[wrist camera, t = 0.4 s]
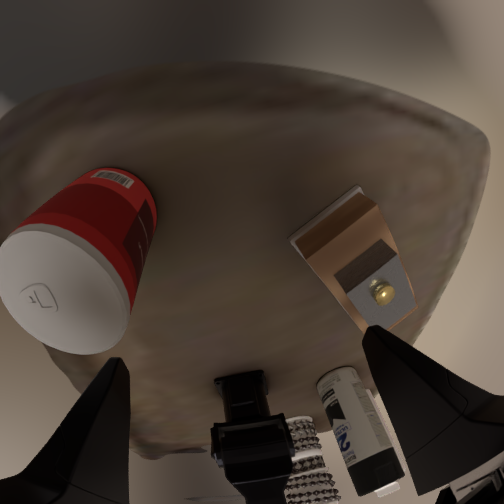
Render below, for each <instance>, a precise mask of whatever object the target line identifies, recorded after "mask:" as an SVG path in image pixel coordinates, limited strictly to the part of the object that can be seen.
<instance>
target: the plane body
mask: <svg viewBox="0 0 504 504" xmlns="http://www.w3.org/2000/svg"><path fill="white" fill-rule="evenodd" d="M379 239H382V240H383V241H384V242H385V243H387V244H388V245H389V246H390V247H391V248H392V249H393V250H394V251H395V252H396V253H397V254H398V256H399V259H400V261H401V264H402V266H403V269H404V271H405V274H406V277H407V279H408V282H409V285H410V288H411V291H412V293H413V296H414V299H415V302H416V306H415V307H414V308H413V309H412V310H410V311H409V312H408V313H407V314H405V315H404V316H403V317H402V318H400V319H399V320H398V321H396V322H395V323H394V324H393V325H391V326H390V327H389V328H387V329H386V330H387V331H389V330H390V329H391V328H393V327H394V326H395V325H397V324H398V323H399V322H401V321H402V320H403V319H404V318H406V317H407V316H408V315H409V314H411V313H412V312H413V311H414V310H416V309H417V308H418V304H417V301H416V298H415V295H414V292H413V289H412V286H411V283H410V281H409V278H408V275H407V272H406V270H405V267H404V264H403V262H402V259H401V257H400V254H399V252H398V249H397V247H396V245H395V242H394V240H393V237H392V235H391V233H390V231H389V228H388V226H387V224H386V222H385V219H384V217H383V215H382V213H381V211H380V209H379V207H378V205H377V204H376V203H375V202H373V201H372V200H370V199H369V198H368V197H366V196H365V195H364V193H363V191H362V189H361V188H360V186H358V185H356V186H354V187H353V188H352V189H350V190H349V191H348V192H347V193H345V194H344V195H343V196H341V197H340V198H339V199H338V200H336V201H335V202H334V203H332V204H331V205H330V206H329V207H327V208H326V209H325V210H323V211H322V212H321V213H320V214H318V215H317V216H316V217H314V218H313V219H312V220H310V221H309V222H308V223H307V224H305V225H304V226H303V227H301V228H300V229H299V230H297V231H296V232H295V233H294V234H292V235H291V236H290V237H288V240H289V242H290V243H291V244H292V245H293V246H294V248H295V249H296V250H297V251H298V252H299V254H300V255H301V256H302V257H303V258H304V260H305V261H306V262H307V263H308V264H309V266H310V267H311V268H312V269H313V271H314V272H315V273H316V274H317V275H318V277H319V278H320V279H321V280H322V282H323V283H324V284H325V285H326V287H327V288H328V289H329V290H330V292H331V293H332V294H333V295H334V297H335V298H336V299H337V300H338V302H339V303H340V304H341V305H342V307H343V308H344V309H345V310H346V312H347V313H348V314H349V315H350V317H351V318H352V319H353V321H354V322H355V323H356V324H357V326H358V327H359V328H360V329H361V331H362V332H363V333H364V334H365V332H366V329H367V328H368V327H369V326H368V324H367V323H366V321H365V320H364V318H363V317H362V316H361V314H360V313H359V311H358V310H357V309H356V307H355V306H354V304H353V303H352V302H351V300H350V299H349V297H348V296H347V295H346V293H345V292H344V290H343V289H342V287H341V286H340V284H339V283H338V281H337V280H336V278H335V277H334V274H336V273H337V272H338V271H340V270H341V269H342V268H344V267H345V266H346V265H348V264H349V263H350V262H351V261H353V260H354V259H355V258H357V257H358V256H359V255H360V254H362V253H363V252H364V251H366V250H367V249H368V248H369V247H371V246H372V245H373V244H374V243H376V242H377V241H378V240H379Z"/></svg>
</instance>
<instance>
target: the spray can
mask: <svg viewBox="0 0 504 504" xmlns="http://www.w3.org/2000/svg"><path fill="white" fill-rule="evenodd" d="M317 390H318V393H319V395H320V398H321V401H322V403H323V405H324V408H325V411H326V414H327V416H328V419H329V421H330V424H331V427H332V429H333V432H334V435H335V437H336V440H337V442H338V445H339V448H340V450H341V453H342V456H343V459H344V461H345V464H346V466H347V470H348V472H349V474H350V477H351V479H352V482H353V484H354V486H355V489H356V492H357V494H358V496H363V495H366V494H368V493H370V492H373V491H375V490H378V489H380V488H382V487H384V486H386V485H388V484H390V483H393V482H395V481H396V480H398V479H400V478H402V477H404V476H405V474H404V471H403V469H402V466H401V464H400V462H399V459H398V457H397V455H396V452H395V450H394V447H393V446H392V443H391V441H390V439H389V437H388V435H387V433H386V431H385V429H384V426H383V424H382V422H381V420H380V418H379V416H378V414H377V412H376V410H375V408H374V406H373V404H372V402H371V400H370V398H369V395H368V394H367V392H366V390H365V388H364V386H363V384H362V382H361V380H360V378H359V376H358V374H357V372H356V370H355V369H354V368H353V367H342V368H337V369H335V370H333V371H331V372H329V373H327V374H326V375H324V376H323V377H322V378H321V379H320V380H319V382H318V384H317Z"/></svg>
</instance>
